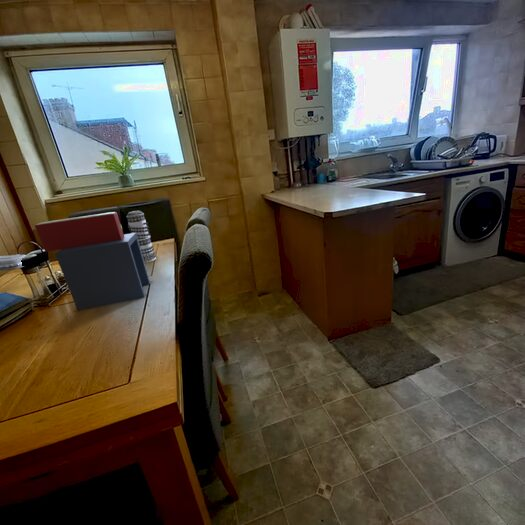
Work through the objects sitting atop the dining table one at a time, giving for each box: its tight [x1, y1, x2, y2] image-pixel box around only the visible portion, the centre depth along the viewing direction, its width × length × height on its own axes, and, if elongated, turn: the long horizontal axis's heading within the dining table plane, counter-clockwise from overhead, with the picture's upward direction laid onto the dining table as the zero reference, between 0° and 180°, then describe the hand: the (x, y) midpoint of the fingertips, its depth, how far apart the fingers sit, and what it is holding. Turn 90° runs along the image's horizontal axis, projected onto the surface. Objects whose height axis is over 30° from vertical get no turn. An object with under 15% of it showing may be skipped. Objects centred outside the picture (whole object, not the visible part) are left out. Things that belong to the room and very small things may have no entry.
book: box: [34, 211, 124, 253], centre depth 94 cm, size 24×4×9 cm, turn 103°
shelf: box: [54, 232, 151, 311], centre depth 100 cm, size 22×14×21 cm, turn 103°
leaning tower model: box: [126, 210, 157, 264], centre depth 137 cm, size 9×9×25 cm
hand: (2, 257), depth 102 cm, fingers open, 8 cm apart
